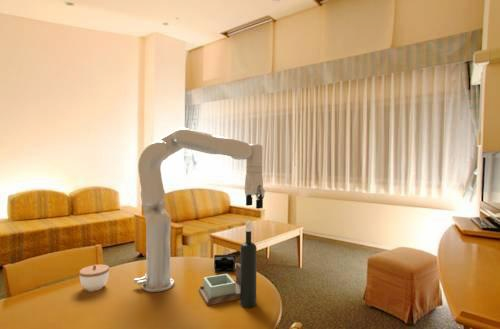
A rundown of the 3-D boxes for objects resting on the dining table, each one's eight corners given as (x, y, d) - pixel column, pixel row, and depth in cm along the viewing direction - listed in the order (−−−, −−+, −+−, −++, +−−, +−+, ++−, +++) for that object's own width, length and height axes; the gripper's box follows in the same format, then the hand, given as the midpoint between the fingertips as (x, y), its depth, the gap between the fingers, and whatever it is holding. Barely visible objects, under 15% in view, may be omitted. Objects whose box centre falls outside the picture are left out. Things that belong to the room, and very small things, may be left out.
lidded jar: (82, 296, 111) (82, 272, 111) (76, 287, 119) (76, 264, 119) (112, 288, 118) (112, 265, 118) (105, 280, 126) (105, 258, 126)
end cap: (235, 266, 143) (235, 253, 142) (235, 272, 136) (235, 257, 135) (214, 267, 142) (214, 253, 142) (213, 272, 135) (213, 258, 135)
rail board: (207, 305, 105) (207, 280, 104) (198, 291, 116) (198, 268, 115) (250, 296, 111) (250, 273, 111) (238, 284, 122) (238, 262, 122)
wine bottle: (244, 309, 102) (245, 223, 101) (237, 302, 107) (238, 220, 106) (259, 305, 104) (259, 222, 104) (251, 298, 110) (251, 219, 109)
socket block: (210, 299, 106) (210, 287, 106) (203, 288, 115) (203, 277, 115) (235, 294, 110) (235, 282, 110) (226, 284, 119) (226, 273, 119)
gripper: (238, 169, 142) (238, 204, 143) (256, 171, 127) (256, 210, 128) (252, 169, 146) (252, 203, 146) (271, 171, 131) (270, 209, 131)
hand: (254, 206), depth 137 cm, fingers open, 9 cm apart
